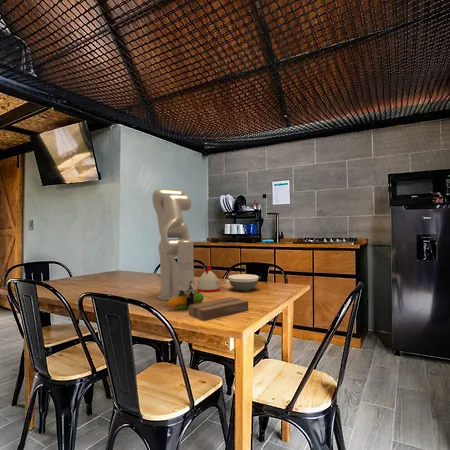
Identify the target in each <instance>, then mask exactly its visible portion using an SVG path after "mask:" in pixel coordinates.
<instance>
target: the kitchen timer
mask: <svg viewBox="0 0 450 450" xmlns="http://www.w3.org/2000/svg"><path fill="white" fill-rule="evenodd" d="M220 285H221V283H220V278H218V276H217V275H216V274H215V273H214V272H213V271H212V267H211V265H207V267H206V270H205V271H204V272H203V273H202V274H201V275H200V277H199V278H198V279H197V287H196V291H198V292H200V293H207V294H208V293H209V294H211V293H217V292H220V291H221V286H220Z"/></svg>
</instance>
